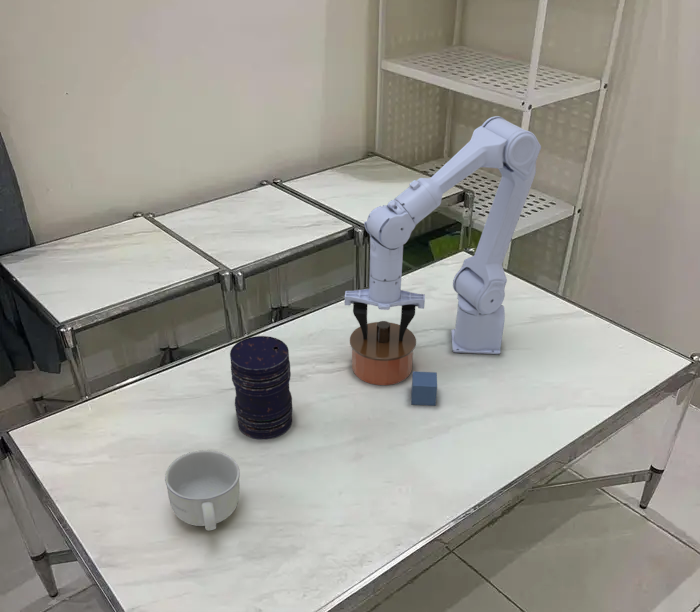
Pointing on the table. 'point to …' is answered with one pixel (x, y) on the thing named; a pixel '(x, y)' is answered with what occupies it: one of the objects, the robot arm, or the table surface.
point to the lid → (382, 342)
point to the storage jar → (262, 386)
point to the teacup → (203, 487)
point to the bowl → (381, 369)
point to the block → (424, 388)
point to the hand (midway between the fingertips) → (383, 337)
